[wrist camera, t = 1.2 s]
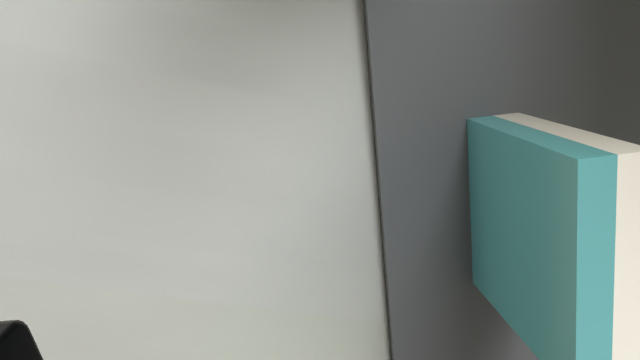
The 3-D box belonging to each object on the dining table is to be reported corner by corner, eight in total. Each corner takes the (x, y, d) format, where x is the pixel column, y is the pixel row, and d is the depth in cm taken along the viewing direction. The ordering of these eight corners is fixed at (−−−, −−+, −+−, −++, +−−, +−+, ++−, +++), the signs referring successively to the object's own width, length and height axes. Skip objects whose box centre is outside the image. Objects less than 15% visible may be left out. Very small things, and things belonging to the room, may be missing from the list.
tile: (521, 276, 21) (646, 390, 14) (472, 282, 20) (575, 401, 14) (518, 112, 19) (657, 149, 12) (467, 118, 19) (577, 159, 12)
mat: (784, 351, 23) (793, 356, 22) (395, 408, 22) (398, 415, 21) (838, -139, 19) (850, -143, 18) (356, -97, 17) (358, -100, 17)
